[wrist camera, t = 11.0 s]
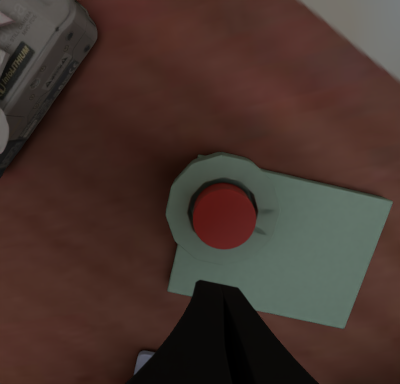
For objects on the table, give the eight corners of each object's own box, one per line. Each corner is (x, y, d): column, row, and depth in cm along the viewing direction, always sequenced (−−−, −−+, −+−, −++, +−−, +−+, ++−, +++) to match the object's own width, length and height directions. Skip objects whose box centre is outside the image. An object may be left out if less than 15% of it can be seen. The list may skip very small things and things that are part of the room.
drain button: (257, 189, 17) (263, 197, 15) (242, 242, 17) (247, 255, 16) (201, 176, 16) (200, 182, 15) (188, 230, 17) (186, 242, 15)
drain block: (385, 188, 19) (418, 200, 16) (336, 318, 21) (357, 349, 18) (183, 141, 19) (179, 144, 16) (153, 279, 21) (145, 304, 18)
